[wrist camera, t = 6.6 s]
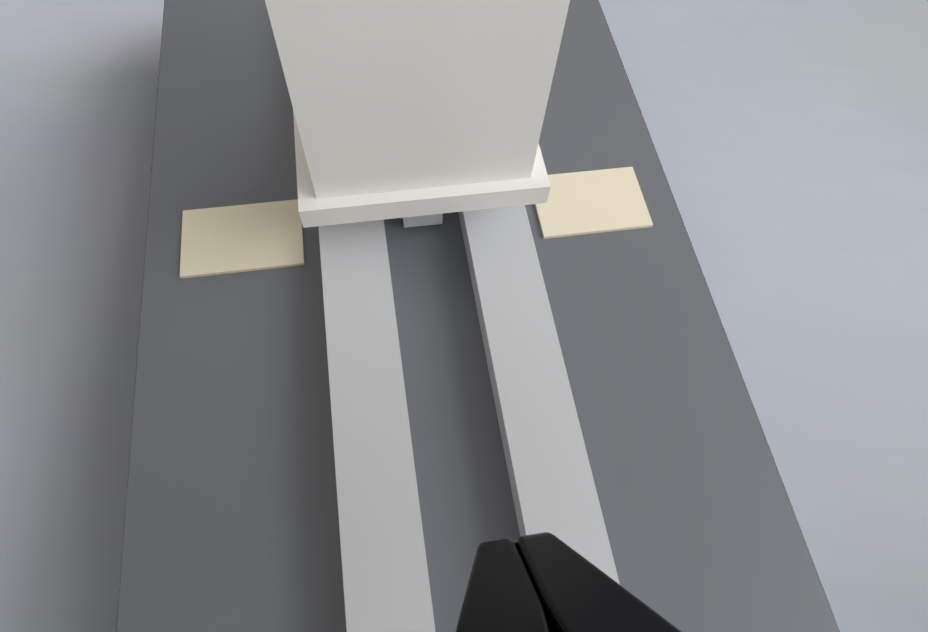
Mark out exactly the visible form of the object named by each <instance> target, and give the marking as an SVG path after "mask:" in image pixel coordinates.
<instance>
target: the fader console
mask: <svg viewBox="0 0 928 632" xmlns="http://www.w3.org/2000/svg"><path fill="white" fill-rule="evenodd" d="M539 146H540V149H541V153H542V157H543V160H544V164H545V167H546V171H547V175H548V178H549V182H550V185H551V188H550V191H549V195H548V199H547V202H546V203H540V204H530V205H520V206H511V207H501V208H491V209H482V210H472V211H462V212H452V213H443V219H442V224H436V225H426V226H416V227H407V228H404V224H403V218H394V219H385V220H375V221H365V222H355V223H346V224H336V225H326V226H317V227H307V228H303V224H302V221H301V218H300V215H299V211H298V192H297V173H296V155H295V136H294V117H293V106H292V103H291V99H290V95H289V91H288V87H287V83H286V80H285V76H284V72H283V68H282V64H281V61H280V57H279V53H278V49H277V45H276V41H275V38H274V34H273V30H272V26H271V22H270V18H269V15H268V11H267V7H266V3H265V0H164V13H163V26H162V39H161V52H160V65H159V78H158V92H157V105H156V118H155V131H154V144H153V157H152V170H151V183H150V197H149V210H148V223H147V236H146V249H145V262H144V275H143V288H142V302H141V315H140V328H139V341H138V354H137V367H136V380H135V394H134V407H133V420H132V433H131V446H130V459H129V472H128V485H127V499H126V512H125V525H124V538H123V551H122V564H121V577H120V591H119V604H118V617H117V630H116V632H455V631H456V627H457V623H458V619H459V615H460V611H461V607H462V603H463V599H464V596H465V592H466V588H467V584H468V580H469V576H470V572H471V568H472V564H473V560H474V556H475V552H476V549H477V547H478V545H479V544H480V543H483V542H488V541H494V540H501V539H507V538H508V539H511V540H513V541H514V542H515V541H516V539H517V538H518V537H520V536H525V535H531V534H537V533H543V532H549V533H551V534H553V535H555V536H556V537H557V538H559V539H560V540H561V541H563V542H564V543H565V544H567V545H568V546H569V547H571V548H572V549H573V550H575V551H576V552H577V553H579V554H580V555H581V556H583V557H584V558H585V559H586V560H588V561H589V562H590V563H592V564H593V565H594V566H596V567H597V568H598V569H600V570H601V571H602V572H604V573H605V574H606V575H608V576H609V577H610V578H612V579H613V580H614V581H616V582H617V583H618V584H620V585H621V586H622V587H624V588H625V589H626V590H627V591H629V592H630V593H631V594H633V595H634V596H635V597H637V598H638V599H639V600H641V601H642V602H643V603H645V604H646V605H647V606H649V607H650V608H651V609H653V610H654V611H655V612H657V613H658V614H659V615H661V616H662V617H663V618H665V619H666V620H667V621H668V622H670V623H671V624H672V625H674V626H675V627H676V628H678V629H679V630H680V631H682V632H840V631H839V628H838V626H837V623H836V621H835V618H834V615H833V613H832V610H831V608H830V605H829V602H828V600H827V597H826V594H825V592H824V589H823V587H822V584H821V581H820V579H819V576H818V574H817V571H816V568H815V566H814V563H813V560H812V558H811V555H810V553H809V550H808V547H807V545H806V542H805V540H804V537H803V534H802V532H801V529H800V526H799V524H798V521H797V519H796V516H795V513H794V511H793V508H792V506H791V503H790V500H789V498H788V495H787V492H786V490H785V487H784V485H783V482H782V479H781V477H780V474H779V472H778V469H777V466H776V464H775V461H774V458H773V456H772V453H771V451H770V448H769V445H768V443H767V440H766V437H765V435H764V432H763V430H762V427H761V424H760V422H759V419H758V417H757V414H756V411H755V409H754V406H753V403H752V401H751V398H750V396H749V393H748V390H747V388H746V385H745V383H744V380H743V377H742V375H741V372H740V369H739V367H738V364H737V362H736V359H735V356H734V354H733V351H732V349H731V346H730V343H729V341H728V338H727V335H726V333H725V330H724V328H723V325H722V322H721V320H720V317H719V315H718V312H717V309H716V307H715V304H714V301H713V299H712V296H711V294H710V291H709V288H708V286H707V283H706V281H705V278H704V275H703V273H702V270H701V267H700V265H699V262H698V260H697V257H696V254H695V252H694V249H693V247H692V244H691V241H690V239H689V236H688V233H687V231H686V228H685V226H684V223H683V220H682V218H681V215H680V213H679V210H678V207H677V205H676V202H675V199H674V197H673V194H672V192H671V189H670V186H669V184H668V181H667V178H666V176H665V173H664V171H663V168H662V165H661V163H660V160H659V158H658V155H657V152H656V150H655V147H654V144H653V142H652V139H651V137H650V134H649V131H648V129H647V126H646V124H645V121H644V118H643V116H642V113H641V110H640V108H639V105H638V103H637V100H636V97H635V95H634V92H633V90H632V87H631V84H630V82H629V79H628V76H627V74H626V71H625V69H624V66H623V63H622V61H621V58H620V56H619V53H618V50H617V48H616V45H615V42H614V40H613V37H612V35H611V32H610V29H609V27H608V24H607V22H606V19H605V16H604V14H603V11H602V8H601V6H600V3H599V1H598V0H570V3H569V7H568V12H567V17H566V21H565V26H564V30H563V35H562V39H561V44H560V48H559V53H558V57H557V62H556V66H555V71H554V75H553V80H552V84H551V89H550V93H549V98H548V102H547V107H546V111H545V116H544V120H543V125H542V129H541V134H540V138H539Z"/></svg>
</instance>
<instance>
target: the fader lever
mask: <svg viewBox="0 0 928 632" xmlns="http://www.w3.org/2000/svg"><path fill="white" fill-rule="evenodd" d="M265 3H266V7H267V11H268V15H269V18H270V22H271V26H272V30H273V34H274V38H275V41H276V45H277V49H278V53H279V57H280V61H281V64H282V68H283V72H284V76H285V80H286V83H287V87H288V91H289V95H290V99H291V103H292V106H293V117H294V136H295V155H296V173H297V192H298V211H299V215H300V218H301V221H302V224H303V228H307V227H317V226H326V225H336V224H346V223H355V222H365V221H375V220H385V219H394V218H403V224H404V228H407V227H416V226H426V225H436V224H442V219H443V213H452V212H462V211H472V210H482V209H491V208H501V207H511V206H520V205H530V204H540V203H546V202H547V199H548V195H549V191H550V188H551V185H550V182H549V178H548V175H547V171H546V167H545V164H544V160H543V157H542V153H541V149H540V146H539V138H540V134H541V129H542V125H543V120H544V116H545V111H546V107H547V102H548V98H549V93H550V89H551V84H552V80H553V75H554V71H555V66H556V62H557V57H558V53H559V48H560V44H561V39H562V35H563V30H564V26H565V21H566V17H567V12H568V7H569V3H570V0H265Z"/></svg>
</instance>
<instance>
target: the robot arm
mask: <svg viewBox="0 0 928 632" xmlns="http://www.w3.org/2000/svg"><path fill="white" fill-rule="evenodd" d="M455 632H682V631H680V630H679V629H678V628H676V627H675V626H674V625H672V624H671V623H670V622H668V621H667V620H666V619H665V618H663V617H662V616H661V615H659V614H658V613H657V612H655V611H654V610H653V609H651V608H650V607H649V606H647V605H646V604H645V603H643V602H642V601H641V600H639V599H638V598H637V597H635V596H634V595H633V594H631V593H630V592H629V591H627V590H626V589H625V588H624V587H622V586H621V585H620V584H618V583H617V582H616V581H614V580H613V579H612V578H610V577H609V576H608V575H606V574H605V573H604V572H602V571H601V570H600V569H598V568H597V567H596V566H594V565H593V564H592V563H590V562H589V561H588V560H586V559H585V558H584V557H583V556H581V555H580V554H579V553H577V552H576V551H575V550H573V549H572V548H571V547H569V546H568V545H567V544H565V543H564V542H563V541H561V540H560V539H559V538H557V537H556V536H555V535H553V534H551V533H549V532H543V533H537V534H531V535H525V536H520V537H518V538H517V539H516V541H515V542H514V541H513V540H511V539H508V538H507V539H501V540H494V541H488V542H483V543H480V544H479V545H478V547H477V549H476V552H475V556H474V560H473V564H472V568H471V572H470V576H469V580H468V584H467V588H466V592H465V596H464V599H463V603H462V607H461V611H460V615H459V619H458V623H457V627H456V631H455Z"/></svg>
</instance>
